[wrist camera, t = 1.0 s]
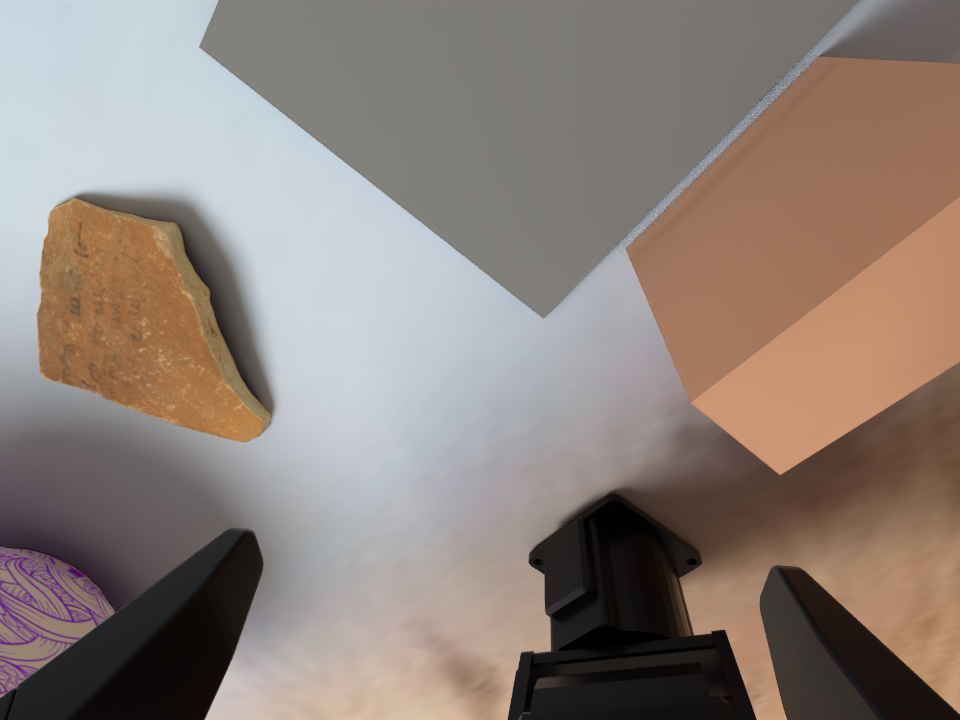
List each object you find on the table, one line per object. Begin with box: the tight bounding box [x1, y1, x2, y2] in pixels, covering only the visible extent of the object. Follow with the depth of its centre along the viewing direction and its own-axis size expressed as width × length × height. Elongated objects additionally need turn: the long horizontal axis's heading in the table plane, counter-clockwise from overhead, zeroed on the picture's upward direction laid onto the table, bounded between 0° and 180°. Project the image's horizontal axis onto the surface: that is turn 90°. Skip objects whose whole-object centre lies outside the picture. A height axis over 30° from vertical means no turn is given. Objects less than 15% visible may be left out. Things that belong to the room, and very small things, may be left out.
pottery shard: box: [37, 198, 272, 442], centre depth 23 cm, size 10×9×2 cm
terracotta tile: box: [626, 56, 960, 475], centre depth 14 cm, size 3×8×10 cm, turn 142°
